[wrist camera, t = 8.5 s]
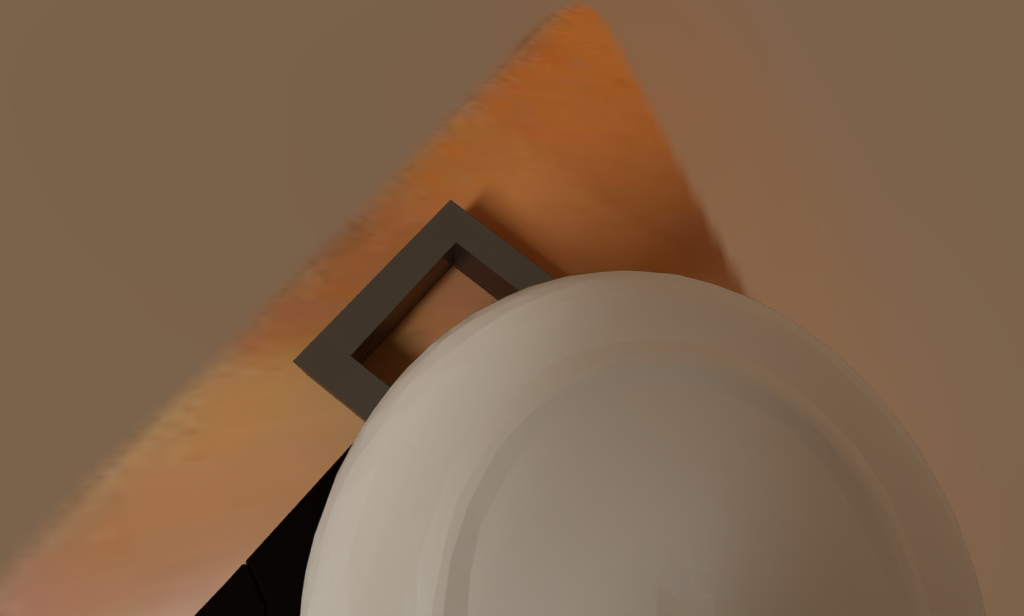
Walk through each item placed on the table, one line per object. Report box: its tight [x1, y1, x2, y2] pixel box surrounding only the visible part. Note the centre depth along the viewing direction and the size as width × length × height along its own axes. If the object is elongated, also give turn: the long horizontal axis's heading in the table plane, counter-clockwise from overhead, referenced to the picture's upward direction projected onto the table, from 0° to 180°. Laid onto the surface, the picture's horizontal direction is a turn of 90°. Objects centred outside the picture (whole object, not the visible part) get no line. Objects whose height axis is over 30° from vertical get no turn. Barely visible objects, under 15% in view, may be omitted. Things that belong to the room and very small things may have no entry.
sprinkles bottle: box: [300, 271, 986, 616], centre depth 9 cm, size 5×5×14 cm
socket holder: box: [293, 200, 555, 422], centre depth 22 cm, size 10×10×2 cm
